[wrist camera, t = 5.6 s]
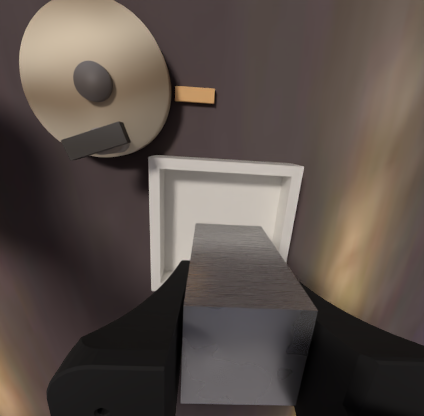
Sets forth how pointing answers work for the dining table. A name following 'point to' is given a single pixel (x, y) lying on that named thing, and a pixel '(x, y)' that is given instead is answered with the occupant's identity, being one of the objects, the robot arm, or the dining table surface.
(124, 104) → the crank
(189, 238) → the tray
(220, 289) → the block
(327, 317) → the robot arm
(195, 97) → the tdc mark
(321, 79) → the dining table surface
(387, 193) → the dining table surface
